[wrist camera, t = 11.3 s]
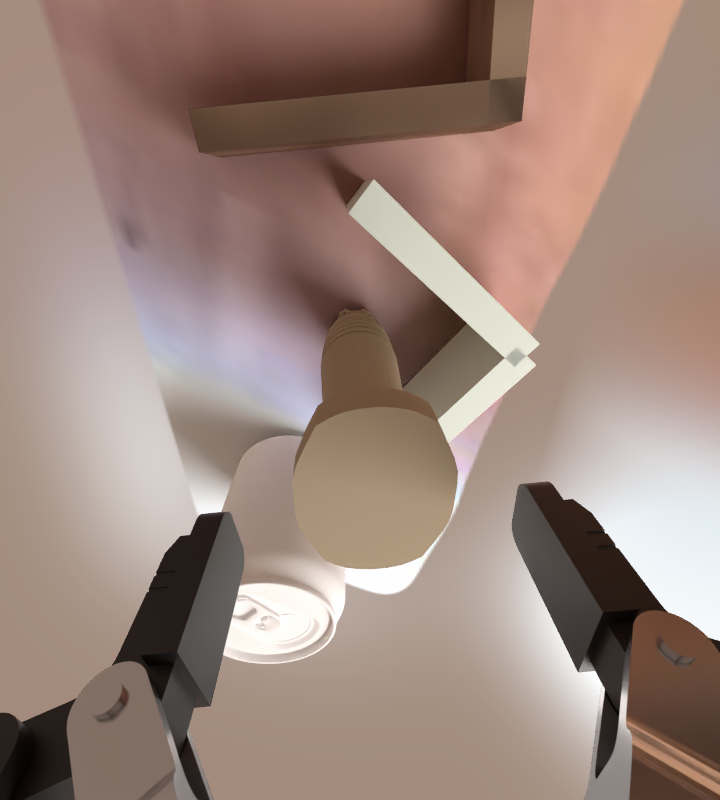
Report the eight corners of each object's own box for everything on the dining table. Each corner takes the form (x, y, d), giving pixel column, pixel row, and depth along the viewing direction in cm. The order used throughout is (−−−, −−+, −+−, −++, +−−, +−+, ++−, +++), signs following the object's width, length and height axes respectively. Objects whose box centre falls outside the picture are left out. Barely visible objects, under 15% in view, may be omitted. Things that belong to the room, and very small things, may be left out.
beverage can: (299, 524, 33) (280, 683, 22) (218, 476, 30) (152, 634, 19) (364, 469, 30) (378, 620, 20) (282, 410, 27) (247, 552, 17)
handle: (319, 376, 26) (302, 572, 13) (313, 279, 23) (283, 409, 10) (390, 374, 26) (443, 565, 13) (394, 278, 23) (470, 404, 10)
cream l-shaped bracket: (343, 182, 20) (345, 181, 15) (509, 166, 20) (569, 160, 15) (367, 437, 29) (373, 494, 23) (485, 426, 29) (517, 480, 23)
